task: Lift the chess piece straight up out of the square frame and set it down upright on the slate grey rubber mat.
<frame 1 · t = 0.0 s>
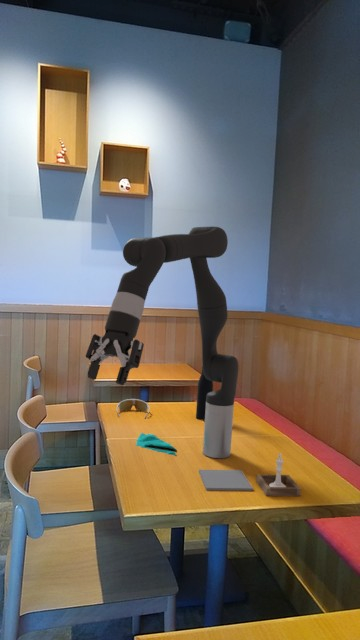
hand: (105, 381, 105), 31 cm above the table, tool tilted 20°, fingers open, 8 cm apart
mat: (224, 480, 132), on the table
sunglasses: (132, 414, 199), on the table
wine bottle: (203, 418, 198), on the table
chess piece: (277, 489, 129), resting in square frame
cloth: (154, 446, 161), on the table
square frame: (277, 488, 129), on the table
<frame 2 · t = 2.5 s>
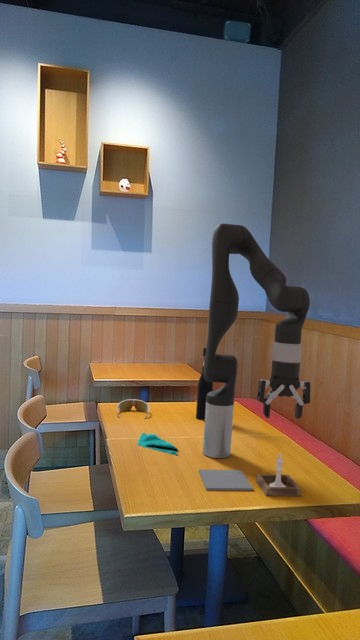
hand: (282, 417, 127), 20 cm above the table, tool pointing down, fingers open, 8 cm apart
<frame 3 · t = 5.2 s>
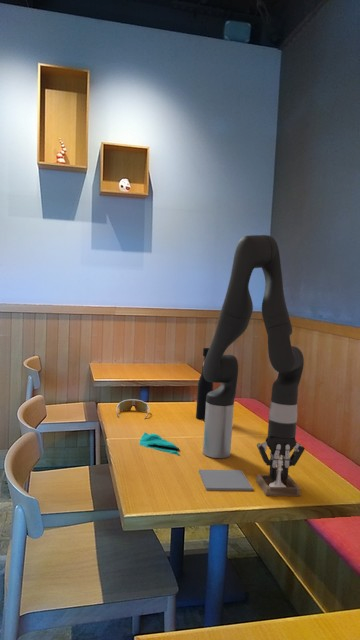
hand: (278, 479, 129), 3 cm above the table, tool pointing down, fingers closed on chess piece
chess piece: (277, 489, 129), resting in square frame, touching gripper
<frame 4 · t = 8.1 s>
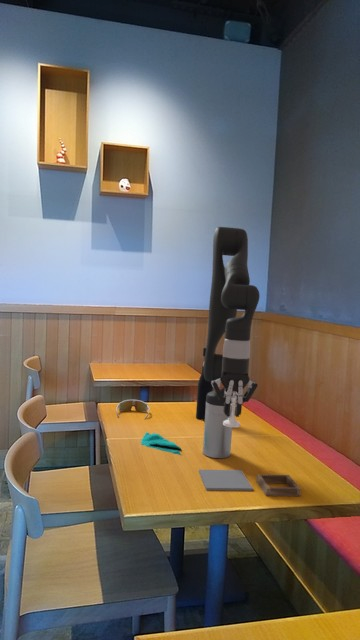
hand: (231, 415, 131), 19 cm above the table, tool pointing down, fingers closed on chess piece
chess piece: (231, 425, 131), point 16 cm above the table, touching gripper
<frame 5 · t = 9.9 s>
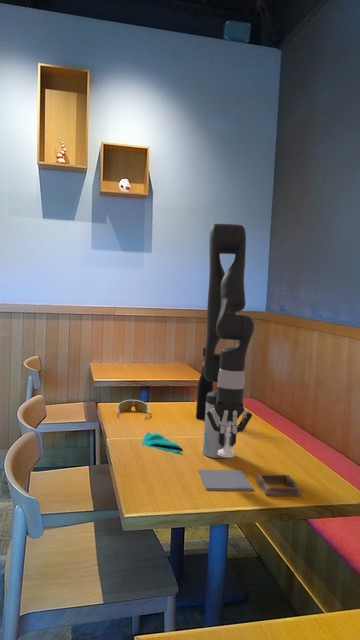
hand: (226, 445, 132), 10 cm above the table, tool pointing down, fingers closed on chess piece
chess piece: (226, 455, 132), point 7 cm above the table, touching gripper
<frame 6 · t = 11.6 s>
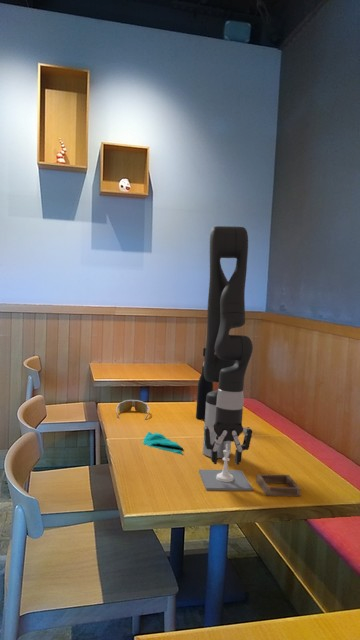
hand: (225, 463, 132), 5 cm above the table, tool pointing down, fingers open, 6 cm apart
chess piece: (224, 479, 132), resting on mat
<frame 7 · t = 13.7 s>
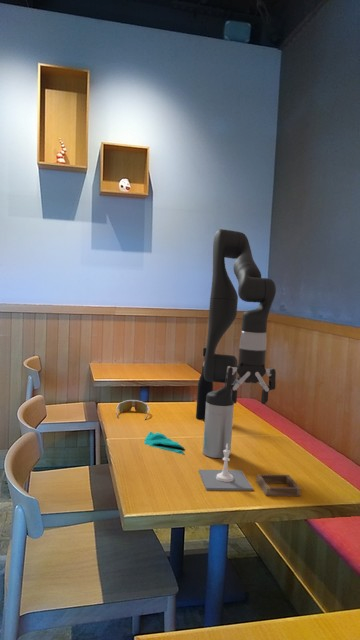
hand: (248, 403, 134), 22 cm above the table, tool pointing down, fingers open, 8 cm apart
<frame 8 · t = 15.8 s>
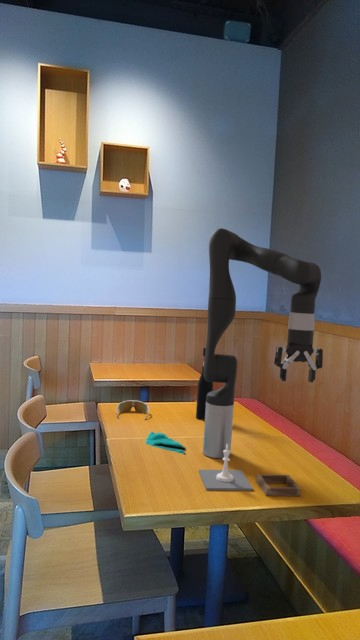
hand: (297, 381, 140), 28 cm above the table, tool pointing down, fingers open, 8 cm apart
at the end: chess piece inside the target area on the mat (0.0 cm from its centre), point 0.4 cm above the mat's base; chess piece tilted 0°; the gripper is holding nothing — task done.
